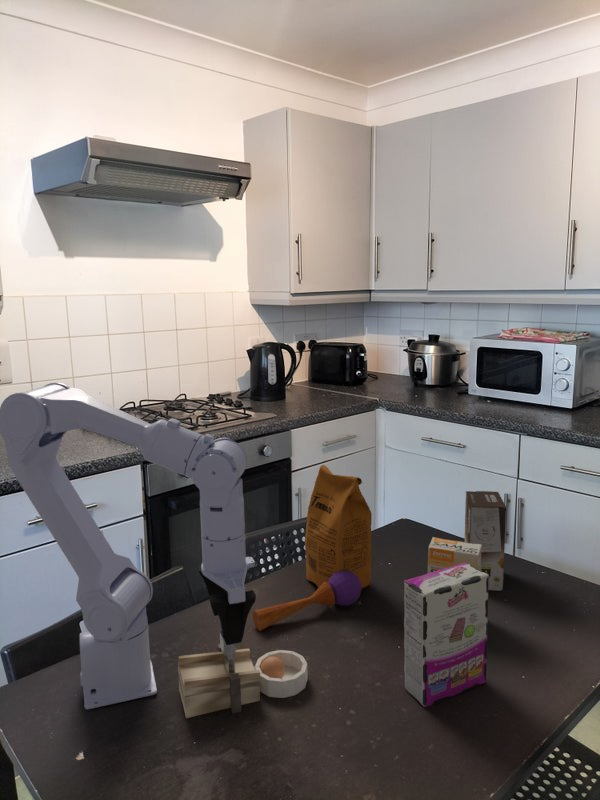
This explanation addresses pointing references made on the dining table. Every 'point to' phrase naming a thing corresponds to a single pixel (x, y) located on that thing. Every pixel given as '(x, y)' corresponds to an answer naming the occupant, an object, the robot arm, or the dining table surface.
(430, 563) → the supplement box
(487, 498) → the coffee box
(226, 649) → the gate
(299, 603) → the kendama
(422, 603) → the candy bar box
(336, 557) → the coffee package
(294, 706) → the dining table surface
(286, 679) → the white round shallow bowl
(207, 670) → the wooden box
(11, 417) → the robot arm
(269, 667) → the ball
